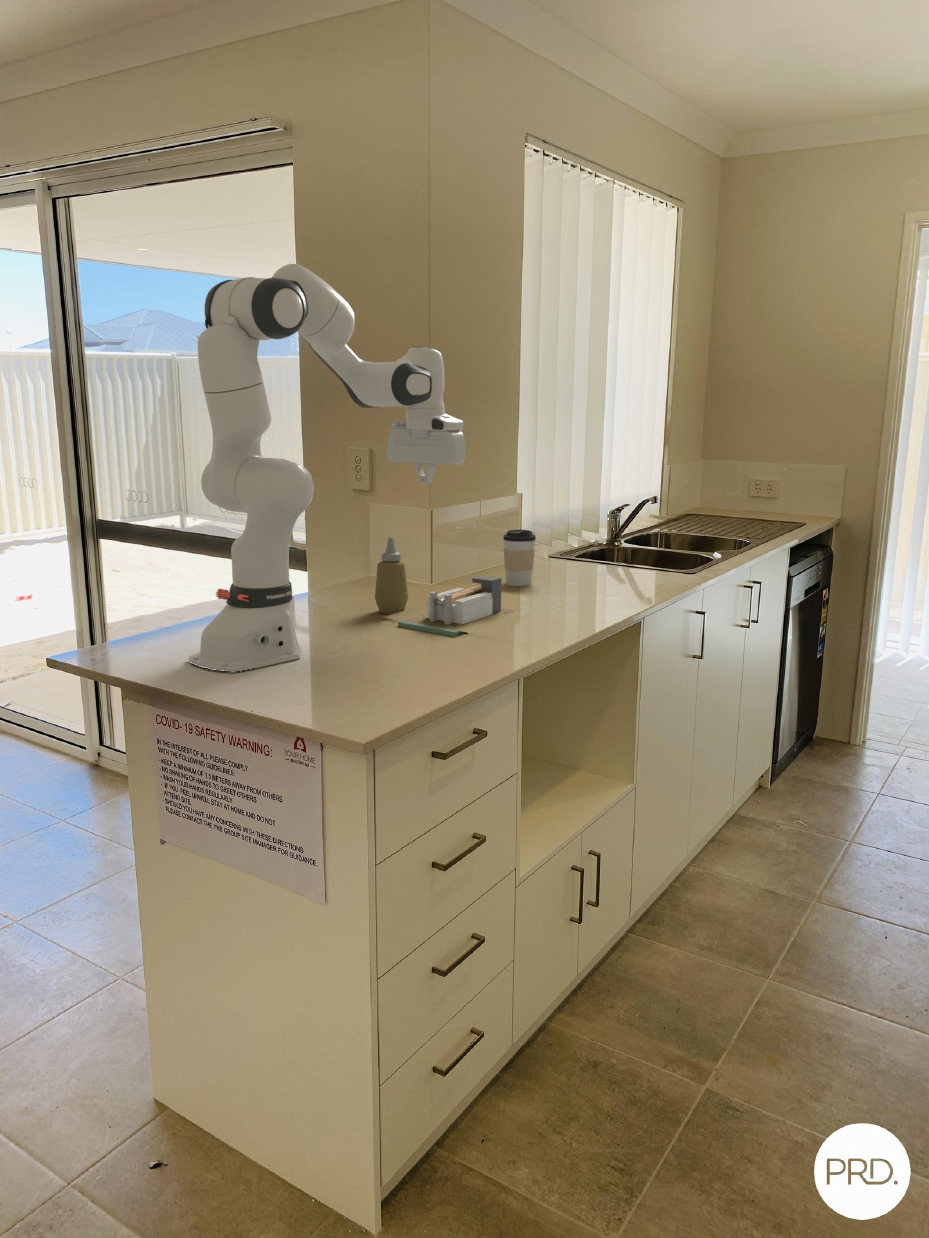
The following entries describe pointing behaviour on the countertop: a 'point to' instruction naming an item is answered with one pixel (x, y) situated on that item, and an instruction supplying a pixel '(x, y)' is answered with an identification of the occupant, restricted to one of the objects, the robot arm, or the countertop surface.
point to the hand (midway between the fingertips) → (425, 483)
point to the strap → (460, 595)
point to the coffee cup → (519, 556)
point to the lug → (491, 589)
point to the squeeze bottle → (391, 581)
